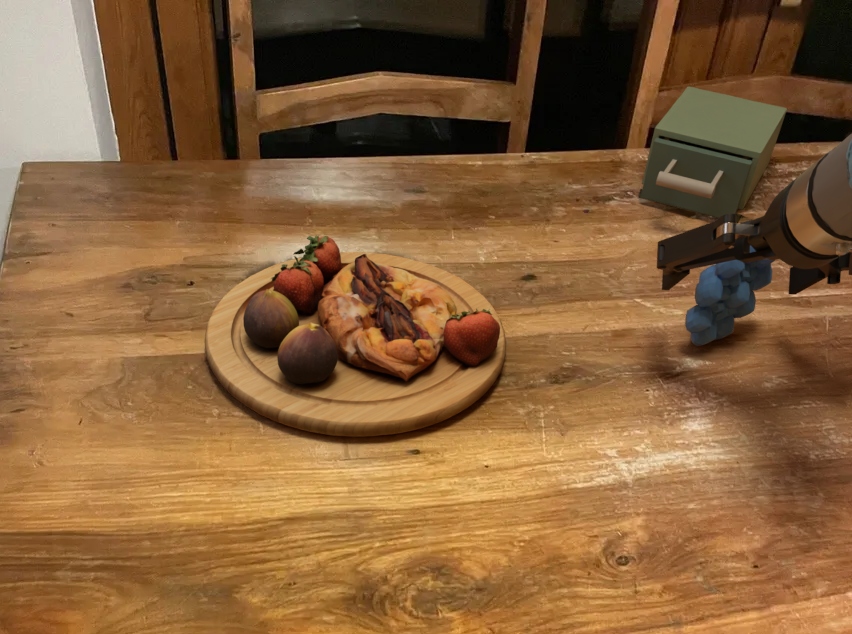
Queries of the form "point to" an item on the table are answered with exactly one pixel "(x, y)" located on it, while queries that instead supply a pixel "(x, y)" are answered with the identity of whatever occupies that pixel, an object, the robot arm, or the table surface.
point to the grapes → (725, 297)
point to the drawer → (695, 177)
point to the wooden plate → (355, 342)
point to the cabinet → (724, 129)
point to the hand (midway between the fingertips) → (729, 279)
